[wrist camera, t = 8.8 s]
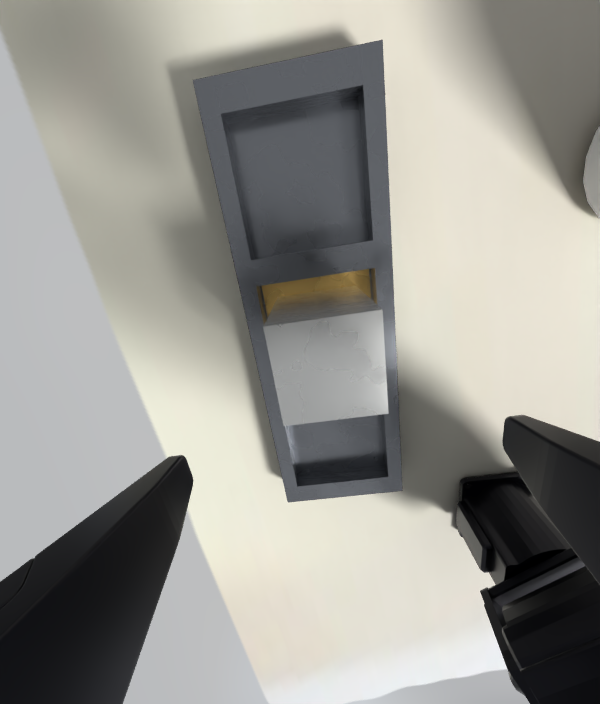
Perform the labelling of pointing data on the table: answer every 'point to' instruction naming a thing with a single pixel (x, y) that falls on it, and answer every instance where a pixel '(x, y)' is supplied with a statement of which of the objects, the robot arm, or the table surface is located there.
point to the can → (593, 174)
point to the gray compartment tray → (310, 233)
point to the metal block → (327, 355)
